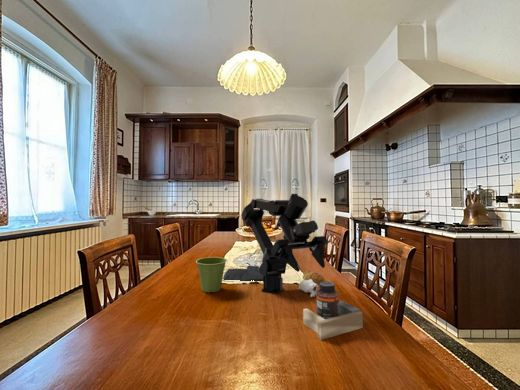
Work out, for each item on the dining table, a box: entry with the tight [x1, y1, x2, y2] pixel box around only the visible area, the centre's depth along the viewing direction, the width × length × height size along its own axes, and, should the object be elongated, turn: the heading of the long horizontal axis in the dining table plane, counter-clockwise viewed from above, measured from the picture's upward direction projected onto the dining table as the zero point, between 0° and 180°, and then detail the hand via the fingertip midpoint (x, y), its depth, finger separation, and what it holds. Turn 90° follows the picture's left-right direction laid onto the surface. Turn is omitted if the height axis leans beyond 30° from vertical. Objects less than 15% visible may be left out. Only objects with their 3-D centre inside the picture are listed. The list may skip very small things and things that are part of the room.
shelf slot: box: [302, 300, 364, 341], centre depth 73 cm, size 9×14×4 cm, turn 116°
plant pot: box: [195, 256, 228, 293], centre depth 104 cm, size 12×12×11 cm
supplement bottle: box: [316, 281, 340, 319], centre depth 74 cm, size 6×6×11 cm
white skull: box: [298, 279, 319, 298], centre depth 100 cm, size 5×7×10 cm
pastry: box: [302, 270, 326, 285], centre depth 113 cm, size 9×7×4 cm
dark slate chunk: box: [222, 265, 263, 281], centre depth 121 cm, size 15×22×5 cm
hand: (311, 269), depth 81 cm, fingers open, 9 cm apart
